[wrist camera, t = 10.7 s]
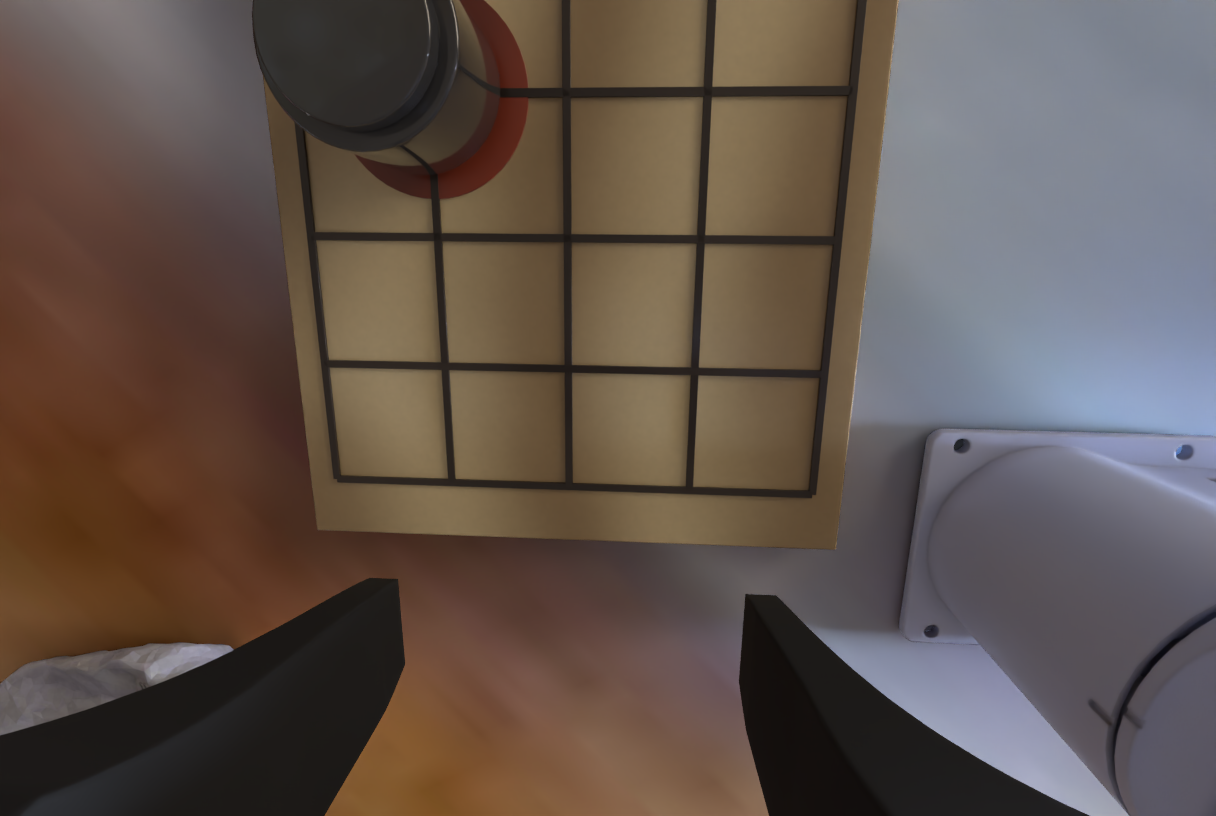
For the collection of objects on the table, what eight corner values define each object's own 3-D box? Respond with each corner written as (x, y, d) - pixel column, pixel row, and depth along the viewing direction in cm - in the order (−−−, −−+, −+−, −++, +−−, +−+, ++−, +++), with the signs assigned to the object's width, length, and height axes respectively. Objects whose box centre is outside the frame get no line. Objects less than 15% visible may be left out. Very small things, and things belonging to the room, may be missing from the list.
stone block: (31, 659, 27) (113, 861, 27) (-108, 718, 22) (-8, 965, 22) (252, 569, 25) (339, 783, 25) (155, 612, 21) (262, 875, 21)
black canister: (503, 2, 16) (442, -109, 11) (508, 178, 17) (455, 146, 13) (341, 4, 17) (215, -103, 12) (357, 178, 18) (248, 146, 13)
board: (894, -132, 16) (920, -174, 15) (823, 530, 21) (837, 551, 20) (269, -115, 17) (232, -151, 16) (338, 512, 22) (314, 531, 21)
